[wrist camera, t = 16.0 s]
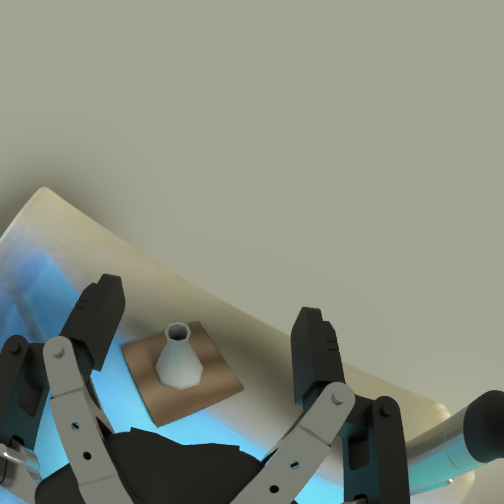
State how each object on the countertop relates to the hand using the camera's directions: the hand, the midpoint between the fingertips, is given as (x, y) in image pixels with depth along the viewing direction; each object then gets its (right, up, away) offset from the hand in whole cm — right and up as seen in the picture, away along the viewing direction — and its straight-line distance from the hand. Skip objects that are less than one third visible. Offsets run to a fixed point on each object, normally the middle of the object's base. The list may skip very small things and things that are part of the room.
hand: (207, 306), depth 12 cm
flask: (-9, -15, +26) cm, 31 cm away
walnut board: (-9, -16, +26) cm, 32 cm away
